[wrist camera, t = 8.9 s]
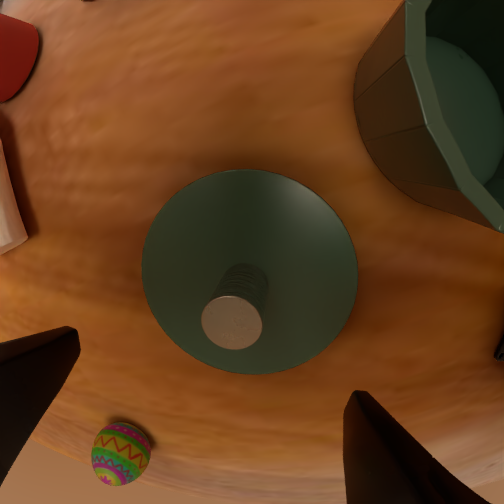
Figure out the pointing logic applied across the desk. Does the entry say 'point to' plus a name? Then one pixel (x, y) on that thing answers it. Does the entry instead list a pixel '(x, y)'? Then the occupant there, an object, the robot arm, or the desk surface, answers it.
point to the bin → (438, 105)
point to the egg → (120, 454)
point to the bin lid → (249, 271)
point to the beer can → (16, 54)
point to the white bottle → (9, 211)
